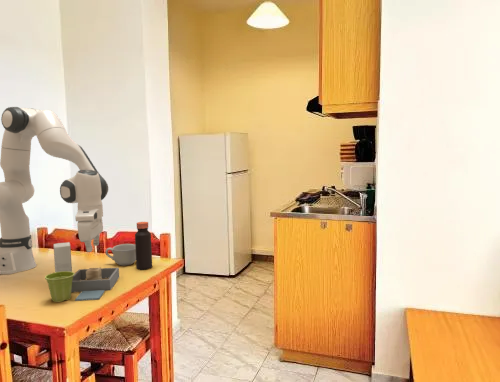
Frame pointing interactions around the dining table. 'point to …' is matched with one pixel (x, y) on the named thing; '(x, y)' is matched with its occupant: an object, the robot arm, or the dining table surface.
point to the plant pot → (60, 285)
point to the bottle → (143, 246)
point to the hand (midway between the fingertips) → (93, 248)
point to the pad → (90, 295)
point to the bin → (95, 284)
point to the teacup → (123, 254)
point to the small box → (62, 257)
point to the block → (93, 274)
